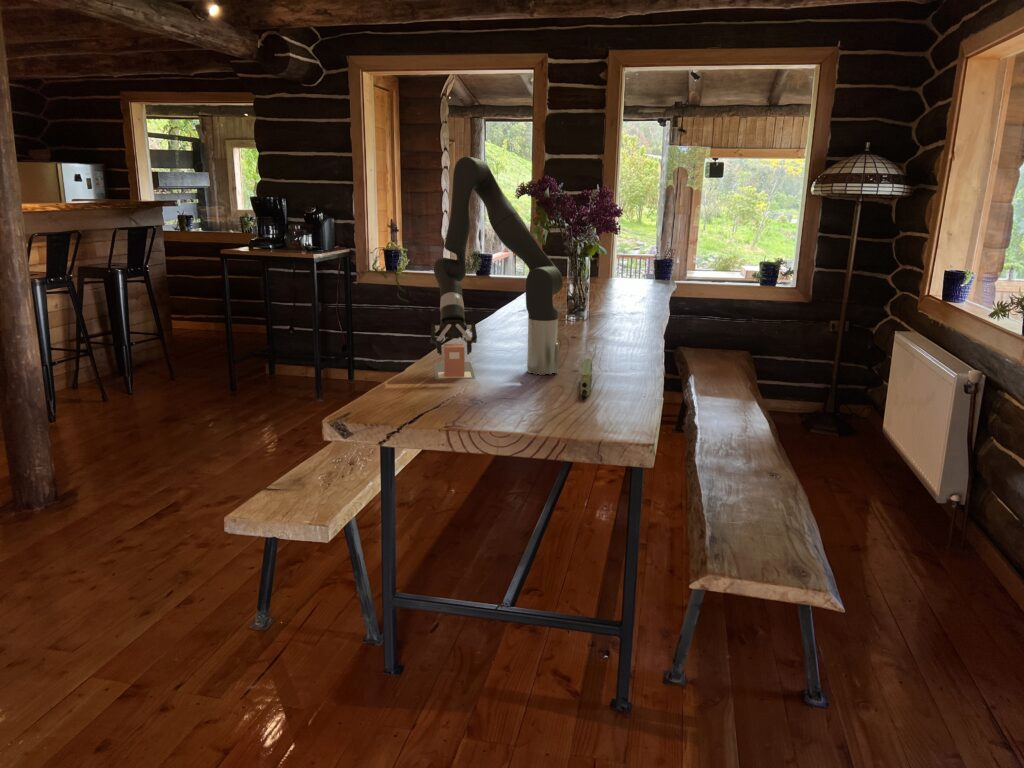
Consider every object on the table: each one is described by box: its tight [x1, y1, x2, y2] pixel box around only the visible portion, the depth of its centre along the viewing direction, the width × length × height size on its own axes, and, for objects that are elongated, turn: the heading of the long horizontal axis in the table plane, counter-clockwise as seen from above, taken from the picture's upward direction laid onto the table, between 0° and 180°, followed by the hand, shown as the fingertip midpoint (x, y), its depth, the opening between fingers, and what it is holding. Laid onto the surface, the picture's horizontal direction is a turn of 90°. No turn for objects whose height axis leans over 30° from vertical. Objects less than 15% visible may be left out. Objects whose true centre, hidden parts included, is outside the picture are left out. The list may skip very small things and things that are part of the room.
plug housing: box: [443, 343, 465, 377], centre depth 222 cm, size 6×5×9 cm
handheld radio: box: [580, 358, 593, 400], centre depth 212 cm, size 7×3×25 cm
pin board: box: [433, 361, 476, 381], centre depth 228 cm, size 12×22×4 cm, turn 7°
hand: (454, 353), depth 223 cm, fingers open, 8 cm apart
